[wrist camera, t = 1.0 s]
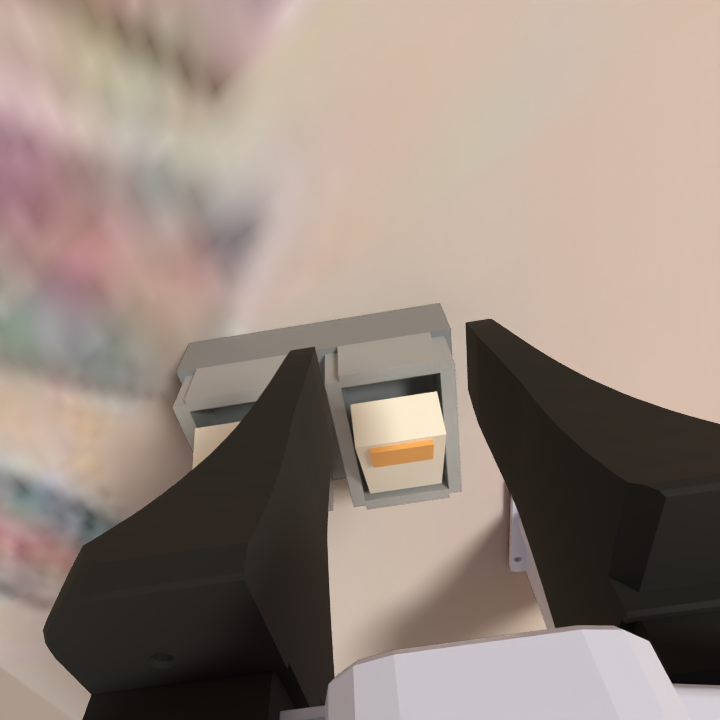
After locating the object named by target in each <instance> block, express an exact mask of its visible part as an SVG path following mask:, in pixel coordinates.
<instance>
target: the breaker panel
mask: <svg viewBox="0 0 720 720" xmlns="http://www.w3.org/2000/svg"><path fill="white" fill-rule="evenodd" d="M309 347H315V349H316V354H317V358H318V362H319V366H320V370H321V375H322V379H323V383H324V387H325V391H326V396H327V400H328V404H329V408H330V416H331V430H332V460H331V476H330V491H329V507H328V511H332V510H333V480H338V479H345V478H347V481H348V485H349V489H350V493H351V498H352V502H353V506H354V507H359V506H366V507H367V510H368V509H375V508H382V507H388V506H395V505H402V504H409V503H416V502H423V501H430V500H437V499H443V498H450V496H449V493H455V492H462V485H461V466H460V447H459V428H458V409H457V389H456V370H455V362H454V360H453V357H452V343H451V328H450V326H449V323H448V321H447V319H446V316H445V314H444V312H443V309H442V307H441V305H440V303H438V304H432V305H426V306H420V307H413V308H407V309H401V310H395V311H388V312H382V313H376V314H370V315H363V316H357V317H351V318H345V319H338V320H332V321H326V322H320V323H313V324H307V325H301V326H295V327H288V328H282V329H276V330H270V331H263V332H257V333H251V334H245V335H238V336H232V337H226V338H220V339H213V340H207V341H201V342H195V343H189V345H188V347H187V350H186V352H185V354H184V356H183V359H182V361H181V363H180V365H179V367H178V370H177V374H178V377H179V379H180V381H181V384H182V386H181V389H180V391H179V393H178V396H177V398H176V401H175V403H174V405H173V411H174V413H175V415H176V417H177V419H178V421H179V423H180V426H181V428H182V430H183V432H184V434H185V436H186V438H187V441H188V443H189V445H190V447H191V449H192V451H193V452H194V437H195V428H201V427H208V426H214V425H221V424H227V423H234V422H240V421H241V420H242V419H243V418H244V416H245V415H246V414H247V413H248V411H249V410H250V409H251V408H252V406H253V405H254V404H255V402H256V401H257V400H258V398H259V397H260V395H261V394H262V392H263V391H264V390H265V388H266V387H267V385H268V384H269V382H270V381H271V379H272V378H273V376H274V375H275V373H276V372H277V370H278V368H279V367H280V365H281V364H282V362H283V360H284V359H285V357H286V356H287V354H288V353H289V352H290V350H296V349H302V348H309ZM436 391H437V394H438V398H439V403H440V407H441V412H442V416H443V421H444V425H445V430H446V444H445V454H444V465H443V475H442V483H440V484H433V485H426V486H419V487H413V488H406V489H399V490H392V491H385V492H378V493H372V494H370V491H369V488H368V485H367V482H366V479H365V476H364V473H363V470H362V467H361V464H360V461H359V458H358V455H357V452H356V449H355V441H354V432H353V424H352V415H351V406H350V405H351V404H357V403H364V402H370V401H377V400H384V399H390V398H397V397H403V396H410V395H416V394H423V393H429V392H436Z"/></svg>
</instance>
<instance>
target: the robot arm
mask: <svg viewBox="0 0 720 720" xmlns="http://www.w3.org/2000/svg"><path fill="white" fill-rule="evenodd" d="M466 345H467V373H468V391H469V394H470V398H471V401H472V405H473V408H474V411H475V414H476V418H477V421H478V424H479V426H480V428H481V430H482V433H483V435H484V437H485V439H486V442H487V444H488V446H489V448H490V450H491V452H492V455H493V457H494V459H495V461H496V463H497V465H498V468H499V470H500V472H501V474H502V476H503V478H504V481H505V483H506V485H507V487H508V489H509V491H510V494H511V504H510V539H509V567H510V570H511V571H513V572H521V571H526V573H527V576H528V579H529V581H530V584H531V587H532V589H533V592H534V595H535V597H536V600H537V603H538V605H539V608H540V611H541V614H542V616H543V619H544V622H545V624H546V627H547V629H546V630H539V631H531V632H524V633H517V634H509V635H502V636H494V637H487V638H479V639H472V640H465V641H457V642H450V643H442V644H435V645H428V646H420V647H413V648H405V649H398V650H392V651H388V652H385V653H381V654H378V655H374V656H370V657H367V658H363V659H360V660H357V661H356V662H355V663H353V664H352V665H350V666H349V667H348V668H346V669H345V670H344V671H342V672H341V673H340V674H338V675H337V676H336V677H335V678H334V664H333V647H332V631H331V614H330V594H329V573H328V548H327V522H328V507H329V491H330V476H331V460H332V430H331V416H330V408H329V404H328V400H327V396H326V391H325V387H324V383H323V379H322V375H321V370H320V366H319V362H318V358H317V354H316V349H315V347H309V348H302V349H296V350H290V352H289V353H288V354H287V356H286V357H285V359H284V360H283V362H282V364H281V365H280V367H279V368H278V370H277V372H276V373H275V375H274V376H273V378H272V379H271V381H270V382H269V384H268V385H267V387H266V388H265V390H264V391H263V392H262V394H261V395H260V397H259V398H258V400H257V401H256V402H255V404H254V405H253V406H252V408H251V409H250V410H249V411H248V413H247V414H246V415H245V416H244V418H243V419H242V420H241V422H240V423H239V424H238V425H237V426H236V428H235V429H234V430H233V431H232V432H231V433H230V434H229V435H228V436H227V438H226V439H225V440H224V441H223V442H222V443H221V444H220V445H219V446H218V447H217V448H216V449H215V450H214V451H213V452H212V453H211V454H210V455H209V456H207V457H206V458H205V459H204V460H203V461H202V462H201V463H199V464H198V465H197V466H196V467H195V468H194V469H193V470H191V471H190V472H189V473H188V474H187V475H186V476H185V477H183V478H182V479H181V480H180V481H179V482H177V483H176V484H175V485H174V486H172V487H171V488H170V489H168V490H167V491H166V492H164V493H163V494H162V495H161V496H159V497H158V498H156V499H155V500H154V501H152V502H151V503H149V504H148V505H147V506H145V507H144V508H142V509H141V510H140V511H138V512H137V513H135V514H134V515H132V516H131V517H129V518H127V519H126V520H124V521H123V522H121V523H119V524H118V525H116V526H115V527H113V528H111V529H110V530H108V531H107V532H105V533H103V534H102V535H100V536H99V537H97V538H95V539H94V540H92V541H90V542H89V543H87V544H85V545H83V547H82V549H81V551H80V552H79V554H78V556H77V558H76V560H75V562H74V564H73V566H72V568H71V570H70V572H69V574H68V576H67V578H66V580H65V582H64V584H63V587H62V589H61V591H60V593H59V595H58V597H57V599H56V601H55V604H54V606H53V608H52V610H51V612H50V614H49V616H48V618H47V621H46V624H45V626H44V629H43V633H44V638H45V643H46V645H47V647H48V648H49V650H50V651H51V652H52V654H53V655H54V657H55V658H56V659H57V660H58V661H59V662H60V663H61V664H62V665H63V666H64V667H65V668H66V669H67V670H68V671H69V672H70V673H71V674H72V675H73V676H74V677H75V678H76V679H77V680H78V681H79V682H80V683H81V684H82V685H83V686H84V687H85V688H86V689H87V690H88V691H89V692H90V693H91V694H92V695H91V698H90V700H89V703H88V706H87V709H86V712H85V714H84V717H83V720H720V424H718V423H714V422H710V421H706V420H702V419H699V418H695V417H691V416H688V415H684V414H681V413H678V412H674V411H671V410H668V409H665V408H662V407H659V406H656V405H653V404H651V403H648V402H645V401H642V400H639V399H636V398H634V397H631V396H629V395H626V394H623V393H621V392H618V391H616V390H614V389H612V388H609V387H607V386H605V385H603V384H600V383H598V382H596V381H594V380H591V379H589V378H587V377H585V376H583V375H581V374H579V373H578V372H576V371H574V370H572V369H570V368H568V367H566V366H565V365H563V364H561V363H559V362H557V361H556V360H554V359H552V358H551V357H549V356H547V355H546V354H544V353H542V352H541V351H539V350H537V349H536V348H534V347H533V346H531V345H530V344H528V343H527V342H525V341H524V340H522V339H521V338H519V337H518V336H516V335H515V334H513V333H512V332H510V331H509V330H507V329H506V328H504V327H503V326H501V325H500V324H498V323H497V322H495V321H494V320H492V319H486V320H479V321H473V322H467V323H466Z"/></svg>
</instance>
